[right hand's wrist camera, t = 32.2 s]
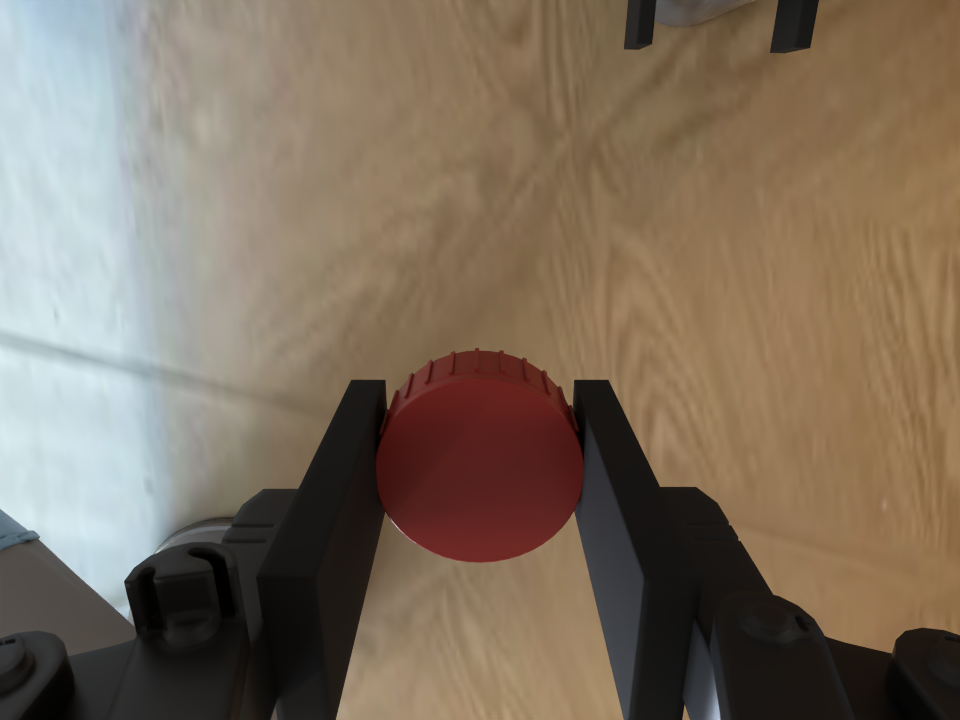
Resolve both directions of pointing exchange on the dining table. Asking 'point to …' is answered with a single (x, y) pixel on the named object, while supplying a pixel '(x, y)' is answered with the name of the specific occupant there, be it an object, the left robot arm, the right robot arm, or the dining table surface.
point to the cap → (479, 457)
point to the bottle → (693, 11)
